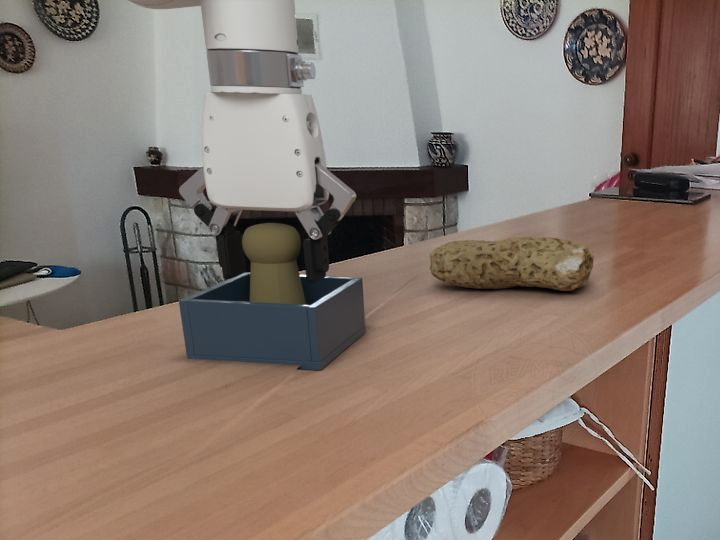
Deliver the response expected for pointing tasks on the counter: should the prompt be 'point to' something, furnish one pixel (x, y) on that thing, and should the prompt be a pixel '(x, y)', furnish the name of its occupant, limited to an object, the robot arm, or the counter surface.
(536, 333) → the counter surface
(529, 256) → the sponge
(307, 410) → the counter surface
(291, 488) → the counter surface
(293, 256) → the cork
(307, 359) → the bin
